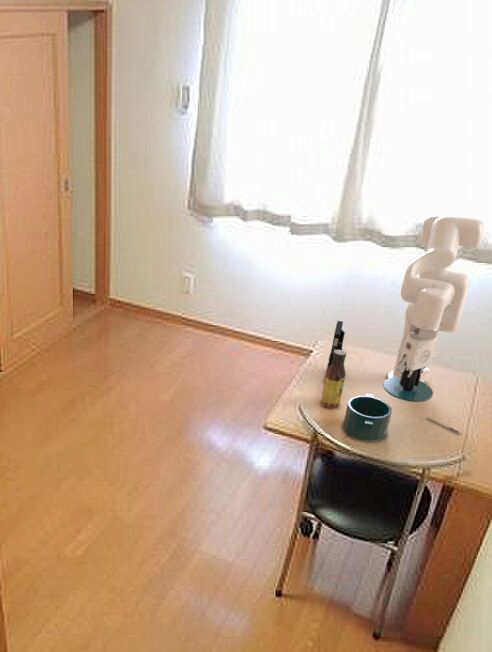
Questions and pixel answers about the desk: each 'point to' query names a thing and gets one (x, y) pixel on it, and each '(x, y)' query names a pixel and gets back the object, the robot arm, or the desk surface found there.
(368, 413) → the pot
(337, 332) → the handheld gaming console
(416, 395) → the lid
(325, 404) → the sauce bottle
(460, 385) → the desk surface
